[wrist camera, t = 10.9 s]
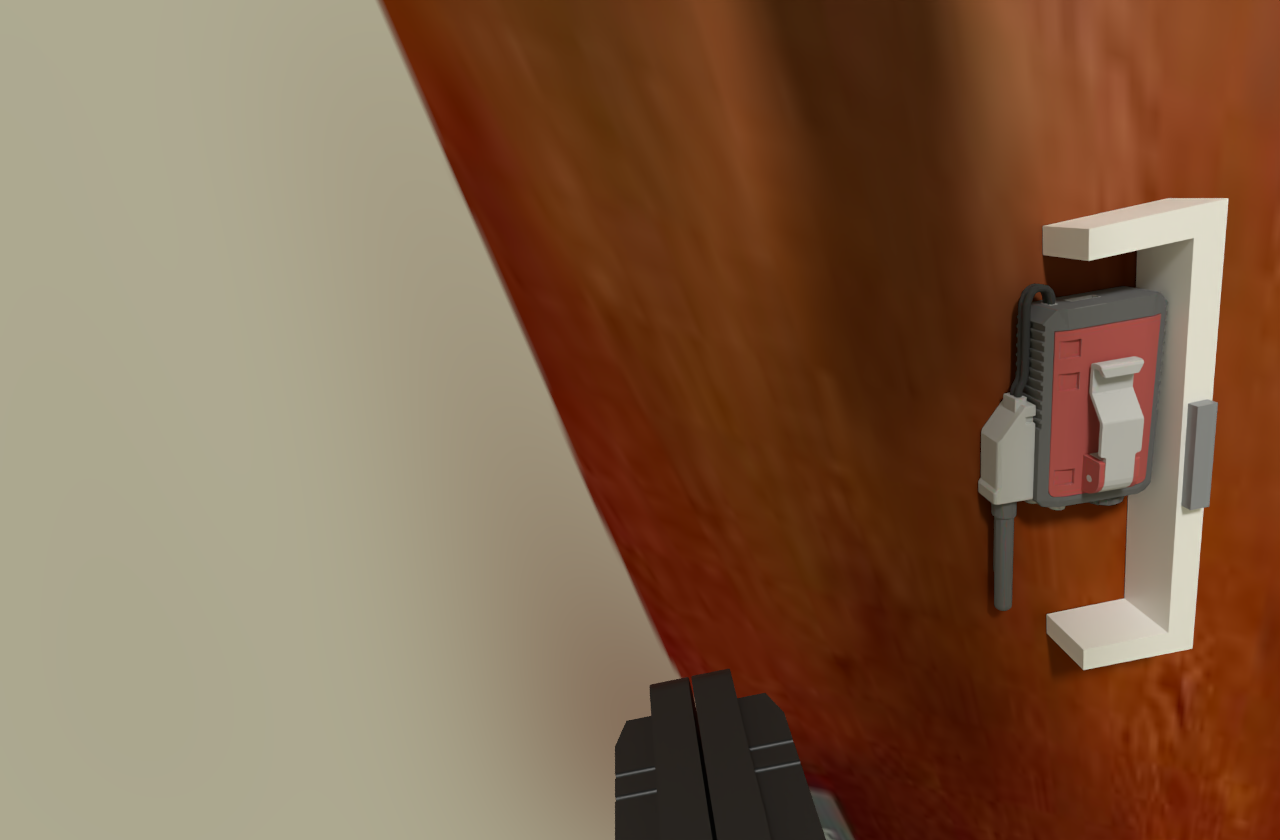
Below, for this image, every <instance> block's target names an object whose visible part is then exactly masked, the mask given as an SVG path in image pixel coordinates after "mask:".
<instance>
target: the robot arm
mask: <svg viewBox="0 0 1280 840" xmlns="http://www.w3.org/2000/svg"><path fill="white" fill-rule="evenodd" d="M692 684H693V691H694V697H695V702H694V698H693V693H692V689H691V685H690V681H689V678H688V677H686V678H681V679H676V680H671V681H666V682H662V683H657V684H652V685H650V701H651V716H649V717H644V718H639V719H634V720H629V721H626V724H625V725H624V728H623V730H622V732H621V735H620V737H619V739H618V741H617V744H616V746H615V774H616V779H615V797H616V802H615V840H826V839H825V836H824V833H823V830H822V827H821V824H820V821H819V818H818V815H817V812H816V809H815V806H814V803H813V800H812V796H811V793H810V790H809V787H808V784H807V781H806V778H805V775H804V772H803V769H802V766H801V764H800V760H799V757H798V754H797V751H796V748H795V745H794V743H793V739H792V736H791V733H790V730H789V727H788V723H787V720H786V717H785V714H784V712H783V711H782V710H781V709H780V708H779V707H778V706H777V705H776V704H775V703H774V702H773V701H772V700H771V699H770V698H769V696H768V695H767V694H766V693H762V694H757V695H752V696H747V697H742V698H737V696H736V692H735V688H734V684H733V680H732V676H731V672H730V669H725V670H720V671H715V672H710V673H705V674H700V675H695V676H692ZM695 703H696V706H695Z"/></svg>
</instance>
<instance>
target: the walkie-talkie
mask: <svg viewBox="0 0 1280 840" xmlns="http://www.w3.org/2000/svg"><path fill="white" fill-rule="evenodd" d="M1037 292H1041V294H1042V300H1040V301H1034V302H1032V299H1033V297H1034V295H1035V294H1036V293H1037ZM1167 304H1168V301H1167V300H1166V299H1165V298H1164V296H1163V295H1162V294H1161V293H1160V292H1157V291H1151V290H1145V289H1139V288H1133V287H1128V286H1120V287H1114V288H1108V289H1103V290H1097V291H1091V292H1086V293H1080V294H1074V295H1069V296H1063V297H1057V298H1055V294H1054V291H1053V290H1052V289H1051V288H1050V287H1049V286H1048V285H1044V284H1031V285H1029V286H1027V287H1026V288H1025V289H1024V290H1023V291H1022V294H1021V297H1020V300H1019V303H1018V315H1017V318H1018V324H1017V325H1016V327H1017V328H1018V334H1016V337H1018V340H1017V343H1016V347H1017V353H1016V356H1017V362H1016V366H1017V371H1016V372H1015V374H1016V377H1015V380H1014V382H1013V384H1012V386H1011V390H1010V393H1005V394H1003V400H1002V401H1001V403H1000V404H999V406H998V407H997V408H996V410H995V411H994V413H993V414H992V415H991V417H990V418H989V420H988V421H987V422H986V424H985V425H984V427H983V428H982V431H981V478H980V479H979V481H978V492H979V493H980V494H981V495H983V496H984V497H985V498H986V499H988V500H989V501H990V502H991V513H992V515H993V516H994V554H993V569H994V606H995V607H996V608H997V609H998V610H1001V611H1006V610H1008V609H1010V608H1011V606H1012V578H1013V537H1014V517H1015V516H1016V511H1017V501H1023V500H1024V501H1025V502H1027V503H1031V504H1036V503H1037V504H1039V505H1040V506H1042V507H1049V508H1050V509H1053V510H1063V509H1064V508H1065V506H1068V505H1074V504H1080V503H1086V502H1089V503H1092V504H1096V505H1107V506H1109V505H1115V504H1118V503H1120V502H1122V501H1123V499H1124V496H1127V495H1133V494H1138V493H1139V492H1141V491H1143V490H1145V489H1146V488H1147V486H1148V485H1149V484H1150V482H1151V476H1152V465H1153V455H1154V445H1155V435H1156V424H1157V414H1158V410H1157V404H1158V403H1159V400H1158V395H1159V393H1160V391H1159V385H1160V383H1161V381H1160V375H1161V365H1162V355H1163V352H1162V351H1163V345H1164V342H1163V341H1164V335H1165V331H1164V330H1165V325H1166V321H1165V320H1166V315H1167V311H1166V310H1167Z"/></svg>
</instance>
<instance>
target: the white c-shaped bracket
mask: <svg viewBox="0 0 1280 840" xmlns="http://www.w3.org/2000/svg"><path fill="white" fill-rule="evenodd" d="M1227 210H1228V198H1167V199H1163V200H1158V201H1153V202H1149V203H1144V204H1140V205H1135V206H1131V207H1126V208H1122V209H1117V210H1113V211H1108V212H1104V213H1099V214H1095V215H1090V216H1086V217H1081V218H1077V219H1072V220H1068V221H1063V222H1059V223H1054V224H1050V225H1045V226H1043V255H1047V256H1054V257H1062V258H1069V259H1077V260H1085V261H1091V260H1096V259H1100V258H1105V257H1109V256H1114V255H1118V254H1123V253H1128V252H1132V251H1137V268H1136V288H1139V289H1145V290H1151V291H1157V292H1160V293H1161V294H1162V295H1163V296H1164V298H1165V299H1166V300H1167V301H1168V304H1167V310H1166V311H1167V315H1166V320H1165V321H1166V325H1165V330H1164V331H1165V335H1164V341H1163V342H1164V345H1163V351H1162V352H1163V355H1162V365H1161V375H1160V381H1161V383H1160V385H1159V391H1160V393H1159V395H1158V400H1159V403H1158V404H1157V410H1158V414H1157V424H1156V435H1155V445H1154V455H1153V465H1152V476H1151V482H1150V484H1149V485H1148V486H1147V488H1146V489H1145V490H1143V491H1141V492H1139V493H1138V494H1133V495H1128V512H1127V539H1126V566H1125V593H1124V599H1119V600H1114V601H1109V602H1104V603H1099V604H1094V605H1089V606H1084V607H1079V608H1074V609H1069V610H1064V611H1059V612H1054V613H1050V614H1046V623H1047V634H1048V635H1049V636H1050V637H1051V638H1052V639H1053V640H1054V641H1055V642H1056V643H1057V644H1058V645H1059V646H1060V647H1061V648H1062V649H1063V650H1064V651H1065V652H1066V653H1067V654H1068V655H1069V656H1070V657H1071V658H1072V659H1073V660H1074V661H1075V662H1076V663H1077V664H1078V665H1079V666H1080V667H1081V668H1082V669H1083V670H1087V669H1092V668H1097V667H1102V666H1107V665H1112V664H1117V663H1122V662H1127V661H1132V660H1137V659H1142V658H1147V657H1152V656H1157V655H1162V654H1167V653H1173V652H1178V651H1183V650H1188V649H1192V647H1193V634H1194V622H1195V609H1196V597H1197V584H1198V572H1199V559H1200V547H1201V534H1202V522H1203V510H1204V507H1209V502H1210V490H1211V478H1212V466H1213V454H1214V442H1215V430H1216V418H1217V406H1218V403H1217V402H1214V401H1212V397H1213V385H1214V372H1215V360H1216V347H1217V335H1218V322H1219V310H1220V297H1221V285H1222V272H1223V260H1224V247H1225V235H1226V222H1227Z"/></svg>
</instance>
